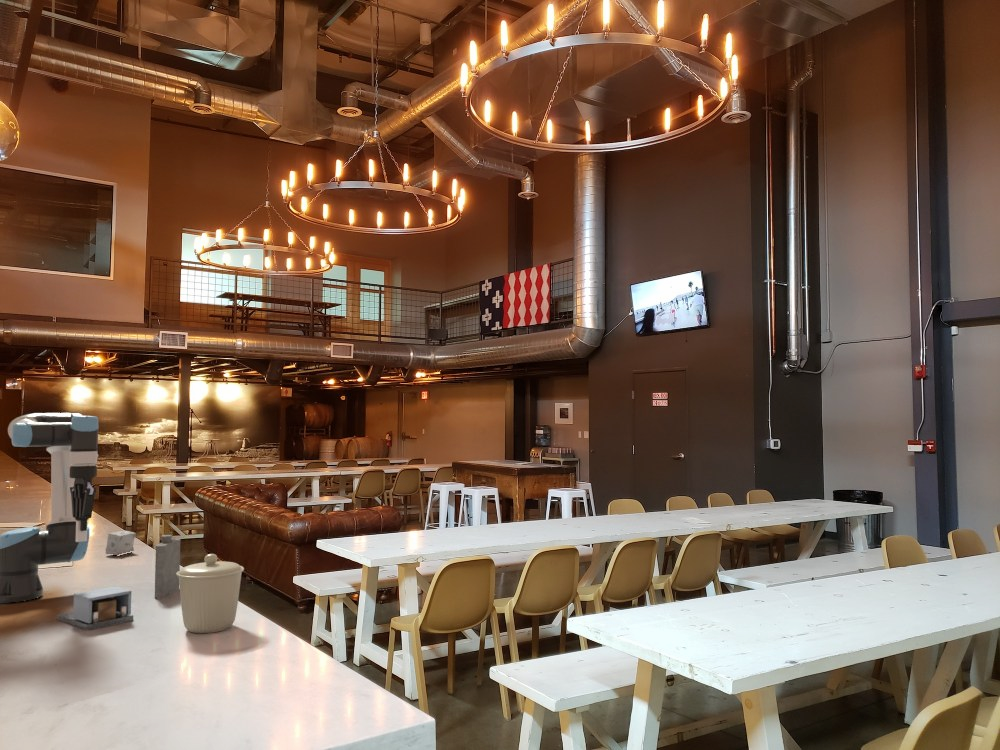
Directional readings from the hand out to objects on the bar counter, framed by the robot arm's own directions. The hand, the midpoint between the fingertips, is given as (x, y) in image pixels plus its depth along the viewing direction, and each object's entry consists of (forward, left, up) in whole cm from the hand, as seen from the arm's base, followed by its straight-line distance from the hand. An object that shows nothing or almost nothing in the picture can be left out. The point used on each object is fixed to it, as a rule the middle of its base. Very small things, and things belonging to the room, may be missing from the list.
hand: (81, 541), depth 226 cm
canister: (+48, +15, -23) cm, 55 cm away
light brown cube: (+16, 0, -21) cm, 26 cm away
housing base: (+11, 0, -22) cm, 25 cm away
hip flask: (-6, +31, -23) cm, 39 cm away
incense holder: (-98, +59, -23) cm, 117 cm away
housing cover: (+15, 0, -21) cm, 26 cm away
